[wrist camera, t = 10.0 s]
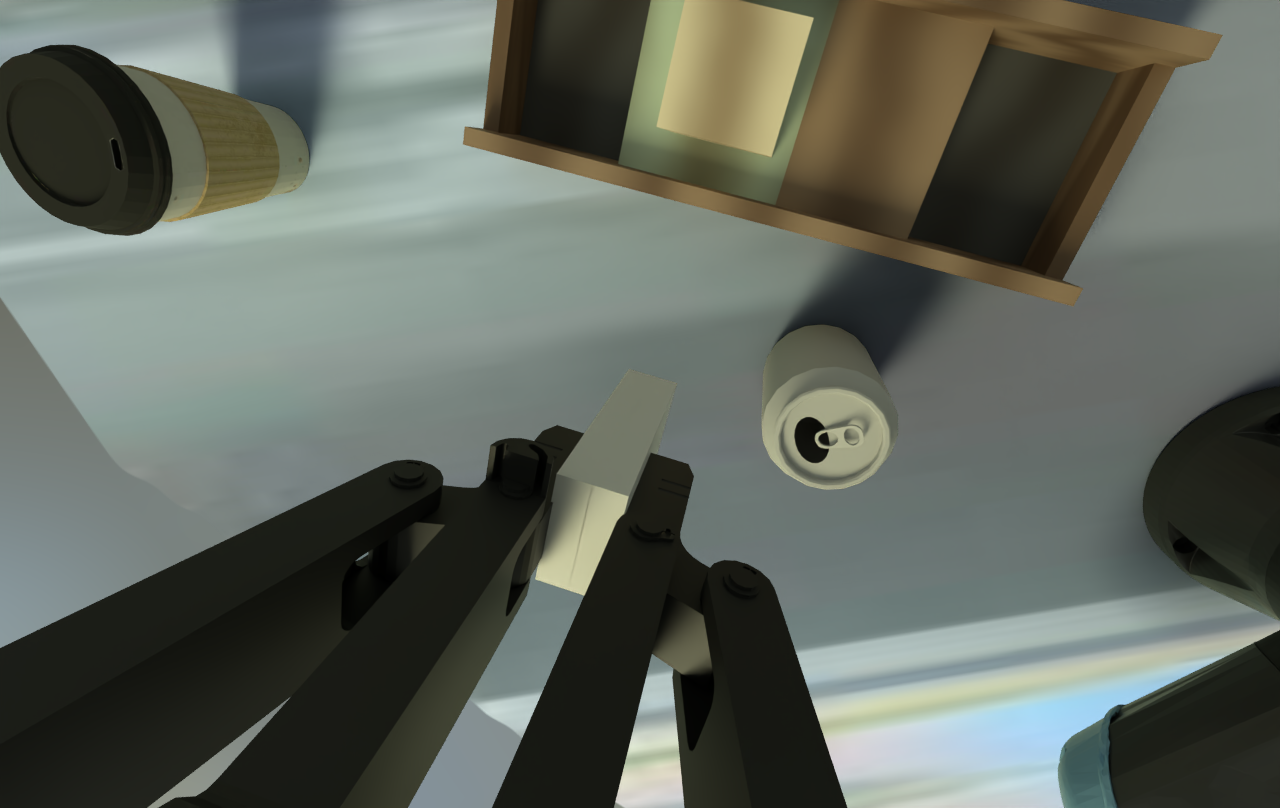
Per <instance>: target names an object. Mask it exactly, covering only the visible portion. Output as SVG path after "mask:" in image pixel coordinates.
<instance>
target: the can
mask: <svg viewBox="0 0 1280 808" xmlns="http://www.w3.org/2000/svg"><path fill="white" fill-rule="evenodd" d="M762 433H763V443H764V445H765V447H766V449H767V451H768V453H769V455H770V457H771V459H772V460H773V461H774V462H775V463H776V464H777V465H778V466H779V468H780V469H781V470H782V471H783V472H784V473H786V474H788V475H790V476H792V477H793V478H795V479H796V480H798V481H800V482H802V483H804V484H805V485H807V486H812V487H816V488H820V489H843V488H846V487H850V486H853V485H856V484H859V483H861V482H862V481H864V480H865V479H867V478H869V477H870V476H872V475H873V474H875V472H876V471H877V470H878V469H879V467H880V466H881V465H882V464H883V463H884V461H885V460H886V459H887V458H888V456H889V455H890V454H891V453H892V450H893V447H894V444H895V442H896V439H897V436H898V414H897V411H896V409H895V406H894V404H893V401H892V399H891V396H890V395H889V393H888V391H887V389H886V387H885V385H884V383H883V381H882V379H881V377H880V375H879V373H878V371H877V369H876V367H875V365H874V363H873V362H872V360H871V358H870V356H869V354H868V352H867V350H866V348H865V347H864V346H863V345H862V344H861V342H860V341H859V340H858V339H857V338H856V337H855V336H854V335H852V334H850V333H848V332H847V331H845V330H843V329H841V328H838V327H833V326H828V325H823V324H822V325H812V326H804V327H802V328H800V329H797V330H795V331H792V332H790V333H788V334H787V335H786V336H785V337H783V338H782V339H781V340H780V341H779V342H777V343H776V344H775V346H774V347H773V349H772V351H771V352H770V354H769V355H768V357H767V360H766V364H765V368H764V372H763V398H762Z"/></svg>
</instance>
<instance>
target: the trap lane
mask: <svg viewBox="0 0 1280 808" xmlns="http://www.w3.org/2000/svg"><path fill="white" fill-rule="evenodd" d="M684 1H685V0H497V9H496V18H495V27H494V36H493V45H492V54H491V63H490V72H489V82H488V91H487V100H486V109H485V118H484V127H483V129H481V128H473V127H465V130H464V141H463V144H464V145H467V146H471V147H475V148H479V149H483V150H486V151H490V152H494V153H498V154H501V155H505V156H509V157H513V158H516V159H520V160H524V161H528V162H532V163H535V164H539V165H543V166H547V167H550V168H554V169H558V170H562V171H565V172H569V173H573V174H577V175H581V176H584V177H588V178H592V179H596V180H599V181H603V182H607V183H611V184H614V185H618V186H622V187H626V188H630V189H633V190H637V191H641V192H645V193H648V194H652V195H656V196H660V197H663V198H667V199H671V200H675V201H679V202H682V203H686V204H690V205H694V206H697V207H701V208H705V209H709V210H713V211H716V212H720V213H724V214H728V215H731V216H735V217H739V218H743V219H746V220H750V221H754V222H758V223H762V224H765V225H769V226H773V227H777V228H780V229H784V230H788V231H792V232H795V233H799V234H803V235H807V236H811V237H814V238H818V239H822V240H826V241H829V242H833V243H837V244H841V245H844V246H848V247H852V248H856V249H860V250H863V251H867V252H871V253H875V254H878V255H882V256H886V257H890V258H893V259H897V260H901V261H905V262H909V263H912V264H916V265H920V266H924V267H927V268H931V269H935V270H939V271H943V272H946V273H950V274H954V275H958V276H961V277H965V278H969V279H973V280H976V281H980V282H984V283H988V284H992V285H995V286H999V287H1003V288H1007V289H1010V290H1014V291H1018V292H1022V293H1025V294H1029V295H1033V296H1037V297H1041V298H1044V299H1048V300H1052V301H1056V302H1059V303H1063V304H1067V305H1071V306H1074V304H1075V302H1076V300H1077V299H1078V297H1079V295H1080V293H1081V291H1082V290H1083V288H1080V287H1078V286H1075V285H1073V284H1070V283H1068V282H1065V281H1063V278H1064V276H1065V274H1066V272H1067V271H1068V269H1069V267H1070V265H1071V263H1072V261H1073V259H1074V257H1075V256H1076V254H1077V252H1078V250H1079V248H1080V246H1081V244H1082V242H1083V241H1084V239H1085V237H1086V235H1087V233H1088V231H1089V229H1090V227H1091V225H1092V224H1093V222H1094V220H1095V218H1096V216H1097V214H1098V212H1099V210H1100V209H1101V207H1102V205H1103V203H1104V201H1105V199H1106V197H1107V195H1108V194H1109V192H1110V190H1111V188H1112V186H1113V184H1114V182H1115V180H1116V179H1117V177H1118V175H1119V173H1120V171H1121V169H1122V167H1123V165H1124V164H1125V162H1126V160H1127V158H1128V156H1129V154H1130V152H1131V150H1132V149H1133V147H1134V145H1135V143H1136V141H1137V139H1138V137H1139V135H1140V134H1141V132H1142V130H1143V128H1144V126H1145V124H1146V122H1147V120H1148V119H1149V117H1150V115H1151V113H1152V111H1153V109H1154V107H1155V105H1156V104H1157V102H1158V100H1159V98H1160V96H1161V94H1162V92H1163V90H1164V89H1165V87H1166V85H1167V83H1168V81H1169V79H1170V77H1171V75H1172V73H1173V72H1174V70H1175V68H1176V67H1180V66H1184V65H1189V64H1193V63H1197V62H1201V61H1206V60H1209V59H1210V57H1211V55H1212V54H1213V52H1214V50H1215V48H1216V46H1217V44H1218V43H1219V41H1220V39H1221V37H1222V35H1220V34H1216V33H1211V32H1206V31H1202V30H1197V29H1193V28H1188V27H1183V26H1179V25H1174V24H1170V23H1165V22H1161V21H1156V20H1151V19H1147V18H1142V17H1138V16H1133V15H1128V14H1124V13H1119V12H1115V11H1110V10H1106V9H1101V8H1096V7H1092V6H1087V5H1083V4H1078V3H1073V2H1069V1H1064V0H740V1H745V2H749V3H753V4H757V5H762V6H766V7H770V8H774V9H779V10H783V11H787V12H791V13H796V14H800V15H804V16H808V17H813V18H814V19H813V22H812V26H811V29H810V32H809V36H808V39H807V43H806V46H805V49H804V52H803V56H802V59H801V62H800V66H799V69H798V72H797V75H796V79H795V82H794V85H793V89H792V92H791V95H790V98H789V102H788V105H787V108H786V112H785V115H784V118H783V121H782V125H781V128H780V131H779V135H778V138H777V141H776V144H775V148H774V151H773V154H772V158H771V157H767V156H763V155H759V154H755V153H752V152H748V151H744V150H740V149H736V148H732V147H728V146H725V145H721V144H717V143H713V142H709V141H705V140H701V139H698V138H694V137H690V136H686V135H682V134H678V133H674V132H671V131H668V130H665V129H662V128H659V127H656V126H657V121H658V117H659V113H660V108H661V104H662V99H663V95H664V90H665V86H666V81H667V77H668V72H669V68H670V64H671V59H672V55H673V50H674V46H675V41H676V37H677V32H678V28H679V23H680V19H681V14H682V10H683V6H684Z"/></svg>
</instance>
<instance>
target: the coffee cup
mask: <svg viewBox="0 0 1280 808" xmlns="http://www.w3.org/2000/svg"><path fill="white" fill-rule="evenodd" d="M0 153H1V155H2V157H3V159H4V161H5V163H6V165H7V167H8V169H9V170H10V172H11V173H12V175H13V176H14V178H15V179H16V181H17V182H18V183H19V185H20V186H21V187H22V188H23V190H24V191H25V192H26V193H27V194H28V195H29V196H30V197H31V198H32V199H33V200H34V201H35V202H36V203H37V204H38V205H39V206H40V207H42V208H43V209H44V210H46V211H47V212H49V213H50V214H51V215H53V216H55V217H57V218H59V219H61V220H63V221H64V222H67V223H71V224H74V225H77V226H83V227H86V228H88V229H91V230H94V231H97V232H101V233H104V234H113V235H125V236H129V235H135V234H140V233H143V232H145V231H147V230H149V229H151V228H152V227H153V226H154V225H155V224H156V223H157V222H159V221H166V222H172V221H177V220H182V219H186V218H191V217H195V216H199V215H203V214H207V213H212V212H216V211H220V210H224V209H228V208H233V207H237V206H241V205H245V204H249V203H254V202H257V201H259V200H261V199H264V198H265V197H269V196H274V195H278V194H283V193H287V192H291V191H293V190H295V189H297V188H298V187H299V186H300V185H301V184H302V183H303V181H304V180H305V178H306V175H307V173H308V168H309V151H308V146H307V143H306V140H305V138H304V135H303V133H302V131H301V130H300V128H299V127H298V125H297V124H296V122H295V121H294V120H293V119H292V118H291V117H290V116H289V115H287V114H286V113H285V112H284V111H282V110H280V109H278V108H276V107H273V106H269V105H265V104H262V103H258V102H254V101H251V100H247V99H243V98H241V97H239V96H238V95H235V94H232V93H228V92H225V91H221V90H217V89H214V88H210V87H207V86H203V85H199V84H196V83H192V82H188V81H185V80H181V79H178V78H174V77H170V76H167V75H163V74H160V73H156V72H152V71H149V70H145V69H142V68H138V67H134V66H131V65H116V64H114V63H113V62H112V61H110V60H109V59H108V58H106V57H104V56H102V55H100V54H98V53H96V52H95V51H93V50H91V49H87V48H84V47H80V46H76V45H49V46H45V47H42V48H38V49H35V50H33V51H32V52H30V53H27V54H22V55H19V56H15V57H12V58H11V59H9V60H8V61H7V62H5V63H4V64H3V65H2V66H1V67H0Z"/></svg>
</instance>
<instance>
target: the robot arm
mask: <svg viewBox="0 0 1280 808" xmlns="http://www.w3.org/2000/svg"><path fill="white" fill-rule="evenodd" d="M676 385H677V383H674V382H671V381H668V380H664V379H661V378H657V377H654V376H651V375H647V374H644V373H640V372H637V371H634V370H630V369H629V370H628V371H627V372H626V374H625V375H624V377H623V378H622V380H621V381H620V383H619V384H618V386H617V387H616V388H615V390H614V391H613V393H612V394H611V396H610V397H609V399H608V400H607V401H606V403H605V404H604V406H603V407H602V409H601V410H600V412H599V413H598V415H597V416H596V417H595V419H594V420H593V422H592V423H591V425H590V426H589V428H588V429H587V430H586V432H585V433H581V432H577V431H574V430H571V429H568V428H565V427H561V426H558V425H557V426H554V427H552V428H549V429H547V430H544V431H542V432H541V434H540V435H539V436H538V437H537V438H536V440H535V441H532V440H527V439H522V438H508V439H503V440H499V441H497V442H495V443H493V444H492V445H491V446H490V453H489V460H488V467H487V474H486V480H485V481H484V482H483V483H482V484H481V485H480V486H479V487H477V488H463V487H453V486H444V485H443V476H442V474H441V472H440V470H438V469H437V468H436V467H434V466H433V465H431V464H428V463H425V462H422V461H417V460H416V461H415V460H400V461H393V462H390V463H387V464H384V465H382V466H380V467H378V468H375V469H373V470H371V471H369V472H367V473H365V474H363V475H361V476H359V477H357V478H355V479H352V480H350V481H348V482H346V483H344V484H342V485H340V486H338V487H336V488H334V489H332V490H330V491H327V492H325V493H323V494H321V495H319V496H317V497H315V498H313V499H311V500H309V501H307V502H304V503H302V504H300V505H298V506H296V507H294V508H292V509H290V510H288V511H286V512H284V513H281V514H279V515H277V516H275V517H273V518H271V519H269V520H267V521H265V522H263V523H261V524H259V525H256V526H254V527H252V528H250V529H248V530H246V531H244V532H242V533H240V534H238V535H236V536H233V537H231V538H229V539H227V540H225V541H223V542H221V543H219V544H217V545H215V546H213V547H211V548H208V549H206V550H204V551H202V552H201V553H198V554H196V555H194V556H192V557H190V558H188V559H185V560H184V561H181V562H179V563H177V564H175V565H173V566H171V567H169V568H167V569H165V570H163V571H160V572H158V573H156V574H154V575H152V576H150V577H148V578H146V579H144V580H142V581H140V582H137V583H135V584H133V585H131V586H129V587H127V588H125V589H123V590H121V591H119V592H117V593H115V594H113V595H111V596H108V597H106V598H104V599H102V600H100V601H98V602H96V603H94V604H92V605H89V606H87V607H86V608H83V609H81V610H79V611H77V612H75V613H73V614H71V615H69V616H66V617H64V618H62V619H60V620H58V621H56V622H54V623H52V624H50V625H48V626H46V627H44V628H41V629H40V630H37V631H35V632H33V633H31V634H29V635H27V636H25V637H23V638H21V639H19V640H16V641H14V642H12V643H10V644H8V645H6V646H4V647H2V648H0V808H147V807H148V806H150V805H151V804H152V803H154V802H155V801H156V800H158V799H159V798H160V797H161V796H163V795H164V794H165V793H166V792H168V791H169V790H170V789H172V788H173V787H174V786H175V785H177V784H178V783H179V782H181V781H182V780H183V779H185V778H186V777H187V776H189V775H190V774H191V773H192V772H194V771H195V770H196V769H198V768H199V767H200V766H201V765H203V764H204V763H205V762H207V761H208V760H209V759H210V758H212V757H213V756H214V755H216V754H217V753H218V752H219V751H221V750H222V749H223V748H225V747H226V746H227V745H229V744H230V743H231V742H233V741H234V740H235V739H236V738H238V737H239V736H240V735H242V734H243V733H244V732H245V731H247V730H248V729H249V728H251V727H252V726H253V725H254V724H256V723H257V722H258V721H260V720H261V719H262V718H264V717H265V716H266V715H267V714H269V713H270V712H271V711H273V710H274V709H275V708H276V707H278V706H279V705H280V704H281V703H283V702H284V701H286V700H287V699H288V698H289V697H290V699H289V700H288V701H287V702H286V703H285V704H284V705H283V707H282V708H281V709H280V710H279V711H278V712H277V713H276V714H275V715H274V716H273V718H272V719H271V720H270V721H269V722H268V723H267V724H266V725H265V727H264V728H263V729H262V730H261V731H260V732H259V733H258V734H257V735H256V737H255V738H254V739H253V740H252V741H251V742H250V743H249V745H247V747H246V748H245V749H244V750H243V751H242V752H241V753H240V754H239V756H238V757H237V758H236V759H235V760H234V761H233V762H232V763H231V765H230V766H229V767H228V768H227V769H226V770H225V771H224V772H223V773H222V775H221V776H220V777H219V778H218V779H217V780H216V781H215V782H214V783H213V784H212V785H211V786H210V787H209V788H208V789H207V790H205V791H204V792H202V793H201V794H199V795H197V796H195V797H181V798H180V797H179V798H174V799H172V800H171V801H169V802H167V803H166V804H164V805H162V806H161V807H159V808H408V806H409V805H410V803H411V801H412V799H413V797H414V796H415V794H416V792H417V790H418V788H419V787H420V785H421V783H422V781H423V780H424V778H425V776H426V774H427V772H428V771H429V768H430V767H431V765H432V763H433V762H434V760H435V758H436V756H437V755H438V753H439V751H440V749H441V747H442V746H443V744H444V742H445V740H446V738H447V737H448V735H449V733H450V731H451V730H452V728H453V726H454V724H455V722H456V721H457V719H458V717H459V715H460V714H461V711H462V710H463V708H464V706H465V704H466V703H467V701H468V699H469V697H470V696H471V694H472V692H473V690H474V689H475V687H476V685H477V683H478V681H479V680H480V678H481V676H482V674H483V672H484V671H485V669H486V667H487V665H488V664H489V662H490V660H491V658H492V656H493V655H494V653H495V651H496V649H497V647H498V646H499V644H500V642H501V640H502V639H503V637H504V635H505V633H506V631H507V630H508V628H509V626H510V624H511V622H512V621H513V619H514V617H515V615H516V614H517V612H518V610H519V608H520V606H521V605H522V603H523V601H524V599H525V597H526V596H527V592H528V588H529V583H530V578H531V575H532V573H533V572H534V570H535V568H536V566H537V565H538V569H537V574H536V579H537V580H540V581H543V582H546V583H549V584H552V585H555V586H558V587H560V588H563V589H566V590H569V591H572V592H575V593H578V594H581V595H584V598H583V600H582V602H581V605H580V607H579V609H578V611H577V614H576V616H575V618H574V621H573V623H572V625H571V628H570V630H569V632H568V634H567V637H566V639H565V641H564V644H563V646H562V648H561V650H560V653H559V655H558V657H557V660H556V662H555V664H554V667H553V669H552V671H551V673H550V676H549V678H548V680H547V683H546V685H545V687H544V690H543V692H542V694H541V696H540V699H539V701H538V703H537V706H536V708H535V710H534V712H533V715H532V717H531V719H530V722H529V724H528V726H527V729H526V731H525V733H524V735H523V738H522V740H521V743H520V745H519V747H518V749H517V752H516V754H515V756H514V759H513V761H512V763H511V765H510V768H509V770H508V772H507V774H506V777H505V779H504V782H503V784H502V786H501V789H500V791H499V793H498V795H497V798H496V800H495V802H494V804H493V807H492V808H614V805H615V801H616V797H617V793H618V789H619V785H620V781H621V776H622V772H623V768H624V764H625V760H626V756H627V752H628V748H629V744H630V740H631V736H632V732H633V728H634V724H635V720H636V716H637V712H638V707H639V703H640V699H641V695H642V691H643V687H644V683H645V679H646V675H647V671H648V667H649V663H650V659H651V655H652V654H653V655H655V656H656V657H658V658H659V659H661V660H662V661H664V662H665V663H667V664H668V665H670V666H671V667H672V668H674V670H673V677H672V678H673V689H674V700H675V710H676V721H677V732H678V742H679V753H680V764H681V774H682V785H683V796H684V806H685V808H847V805H846V802H845V799H844V796H843V793H842V790H841V787H840V784H839V781H838V778H837V775H836V772H835V769H834V766H833V763H832V760H831V757H830V754H829V751H828V748H827V745H826V742H825V739H824V736H823V733H822V730H821V727H820V724H819V721H818V718H817V715H816V712H815V709H814V706H813V703H812V700H811V697H810V694H809V691H808V688H807V685H806V682H805V679H804V676H803V673H802V670H801V667H800V664H799V661H798V658H797V655H796V652H795V649H794V646H793V643H792V640H791V637H790V634H789V631H788V628H787V625H786V622H785V619H784V615H783V612H782V609H781V606H780V603H779V600H778V597H777V594H776V591H775V589H774V587H773V585H772V584H771V582H770V580H769V579H768V578H767V577H766V576H765V575H764V574H763V573H761V572H760V571H759V570H757V569H755V568H754V567H752V566H750V565H748V564H745V563H742V562H738V561H730V560H723V561H720V562H717V563H714V564H713V565H712V566H711V567H710V568H709V567H707V566H706V565H704V564H702V563H701V562H699V561H698V560H696V559H695V558H693V557H692V556H691V555H690V554H689V553H688V552H687V551H686V549H685V548H684V546H683V545H682V542H681V539H680V531H681V527H682V523H683V519H684V514H685V510H686V506H687V502H688V498H689V494H690V490H691V486H692V482H693V478H694V476H693V473H692V471H691V469H690V467H689V464H686V463H683V462H680V461H676V460H673V459H670V458H667V457H663V456H660V455H657V453H658V450H659V446H660V442H661V439H662V435H663V432H664V428H665V425H666V421H667V417H668V414H669V410H670V407H671V403H672V400H673V396H674V392H675V389H676ZM1143 513H1144V518H1145V522H1146V525H1147V528H1148V530H1149V533H1150V534H1151V536H1152V538H1153V540H1154V541H1155V543H1156V544H1157V545H1158V546H1159V548H1160V549H1161V550H1162V551H1163V552H1164V553H1165V554H1166V555H1167V556H1168V557H1169V558H1170V559H1171V560H1172V561H1173V562H1174V563H1175V564H1176V565H1177V566H1178V567H1180V568H1181V569H1182V570H1183V571H1184V572H1185V573H1186V574H1188V575H1189V576H1190V577H1192V578H1193V579H1195V580H1196V581H1198V582H1199V583H1201V584H1203V585H1204V586H1206V587H1208V588H1210V589H1212V590H1214V591H1217V592H1219V593H1221V594H1223V595H1225V596H1227V597H1229V598H1232V599H1234V600H1236V601H1238V602H1240V603H1242V604H1244V605H1246V606H1249V607H1251V608H1253V609H1255V610H1257V611H1259V612H1261V613H1264V614H1266V615H1268V616H1270V617H1272V618H1274V619H1276V620H1278V621H1280V387H1274V388H1269V389H1265V390H1261V391H1258V392H1254V393H1251V394H1248V395H1245V396H1242V397H1240V398H1237V399H1235V400H1232V401H1230V402H1228V403H1225V404H1223V405H1221V406H1219V407H1217V408H1215V409H1214V410H1212V411H1210V412H1208V413H1207V414H1205V415H1203V416H1202V417H1200V418H1199V419H1197V420H1196V421H1195V422H1193V423H1192V424H1190V425H1189V426H1188V427H1187V428H1185V429H1184V430H1183V431H1182V432H1181V433H1180V434H1179V435H1177V436H1176V437H1175V438H1174V440H1173V441H1172V442H1171V443H1170V444H1169V445H1168V446H1167V447H1166V448H1165V450H1164V451H1163V452H1162V454H1161V455H1160V456H1159V458H1158V459H1157V461H1156V463H1155V464H1154V466H1153V468H1152V470H1151V472H1150V474H1149V477H1148V480H1147V483H1146V486H1145V490H1144V497H1143ZM367 552H368V555H367V556H365V557H364V558H362V559H361V560H358V561H356V560H357V559H358V558H359V557H361V556H362V555H364V554H365V553H367ZM538 563H539V564H538ZM1058 781H1059V788H1060V793H1061V798H1062V802H1063V805H1064V808H1280V630H1279V631H1277V632H1275V633H1273V634H1271V635H1269V636H1267V637H1265V638H1263V639H1261V640H1259V641H1257V642H1254V643H1253V644H1251V645H1249V646H1247V647H1245V648H1243V649H1240V650H1238V651H1236V652H1234V653H1232V654H1230V655H1228V656H1226V657H1224V658H1222V659H1220V660H1218V661H1216V662H1214V663H1212V664H1210V665H1207V666H1205V667H1203V668H1201V669H1199V670H1197V671H1195V672H1193V673H1191V674H1189V675H1187V676H1185V677H1183V678H1181V679H1179V680H1177V681H1174V682H1172V683H1170V684H1168V685H1166V686H1164V687H1162V688H1160V689H1158V690H1156V691H1154V692H1152V693H1150V694H1148V695H1146V696H1144V697H1141V698H1139V699H1137V700H1135V701H1133V702H1131V703H1129V704H1127V705H1117V706H1115V707H1113V708H1112V709H1110V710H1109V711H1108V712H1107V713H1106V715H1105V717H1104V718H1103V719H1101V720H1099V721H1098V722H1096V723H1094V724H1093V725H1091V726H1089V727H1087V728H1086V729H1084V730H1082V731H1080V732H1079V733H1077V734H1075V735H1073V736H1072V737H1071V738H1070V739H1069V740H1068V741H1067V742H1066V743H1065V745H1064V746H1063V748H1062V750H1061V755H1060V763H1059V766H1058Z"/></svg>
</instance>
